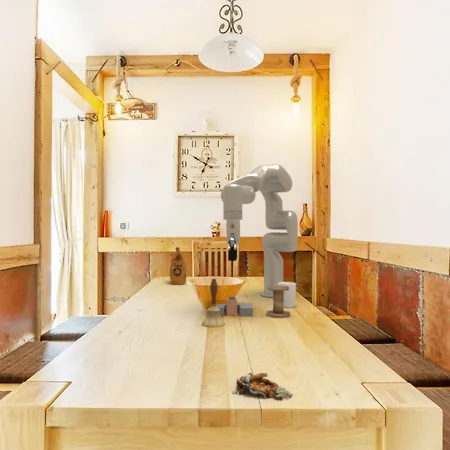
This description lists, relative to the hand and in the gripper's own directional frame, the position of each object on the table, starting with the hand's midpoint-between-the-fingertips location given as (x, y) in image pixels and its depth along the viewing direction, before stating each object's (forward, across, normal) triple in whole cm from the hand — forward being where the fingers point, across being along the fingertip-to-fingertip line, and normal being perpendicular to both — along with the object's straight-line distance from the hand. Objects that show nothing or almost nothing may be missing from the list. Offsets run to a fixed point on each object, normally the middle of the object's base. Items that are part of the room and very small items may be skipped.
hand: (232, 259), depth 151 cm
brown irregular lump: (+21, -71, -9) cm, 75 cm away
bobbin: (+22, 0, -18) cm, 28 cm away
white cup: (+22, +16, -23) cm, 36 cm away
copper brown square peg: (+21, 0, 0) cm, 21 cm away
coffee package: (+22, +78, +36) cm, 89 cm away
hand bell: (+21, -16, +6) cm, 28 cm away
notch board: (+21, +2, 0) cm, 21 cm away
